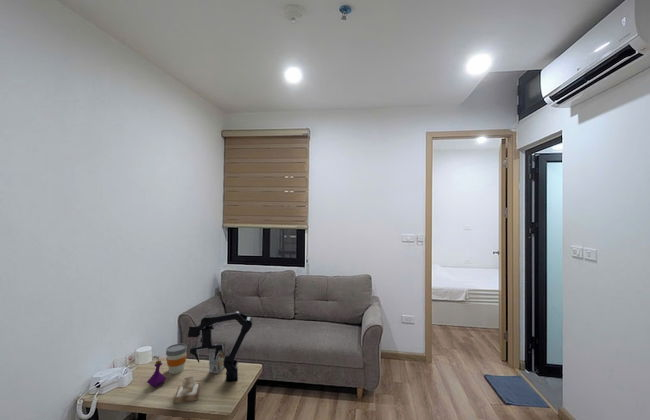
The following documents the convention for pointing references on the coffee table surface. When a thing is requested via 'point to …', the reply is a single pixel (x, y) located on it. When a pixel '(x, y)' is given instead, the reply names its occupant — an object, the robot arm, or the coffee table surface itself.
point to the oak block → (187, 384)
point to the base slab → (187, 394)
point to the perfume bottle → (157, 375)
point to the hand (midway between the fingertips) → (206, 361)
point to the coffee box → (218, 363)
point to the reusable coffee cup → (176, 358)
